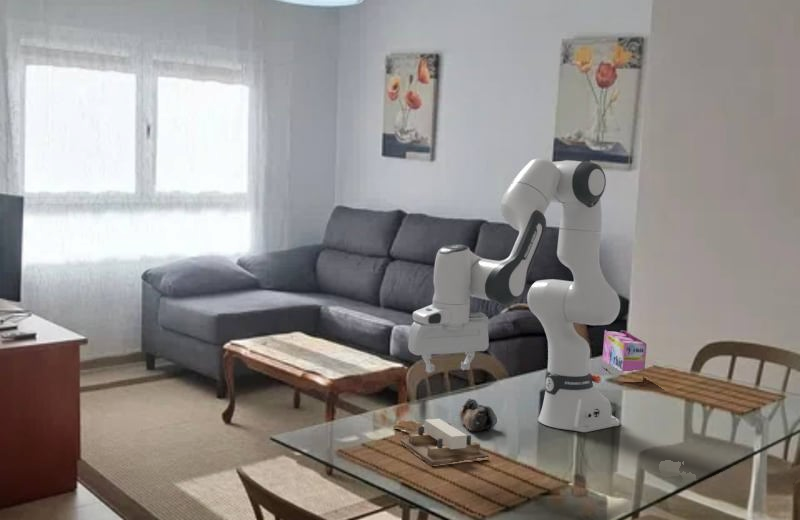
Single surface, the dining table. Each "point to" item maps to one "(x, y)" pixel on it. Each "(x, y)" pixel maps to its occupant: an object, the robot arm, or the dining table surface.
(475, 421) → the bison figurine
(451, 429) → the clay strip
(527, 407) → the dining table surface
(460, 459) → the walnut rack
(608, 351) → the gum box
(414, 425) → the shard
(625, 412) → the dining table surface
